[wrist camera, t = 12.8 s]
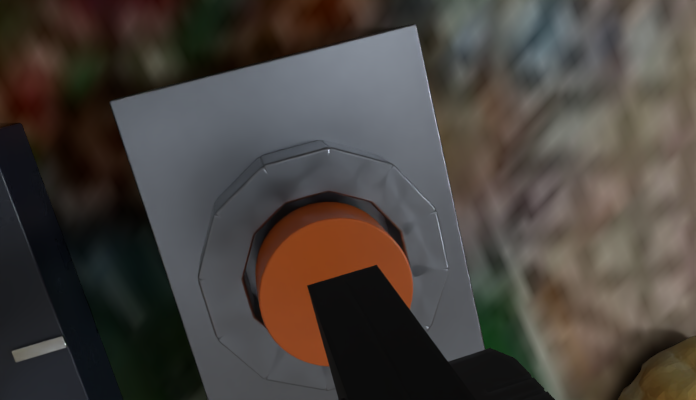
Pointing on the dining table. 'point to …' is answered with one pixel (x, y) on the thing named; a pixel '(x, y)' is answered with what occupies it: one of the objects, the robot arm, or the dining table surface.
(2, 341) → the panel
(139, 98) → the block
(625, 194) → the dining table surface
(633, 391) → the pastry
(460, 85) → the dining table surface
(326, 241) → the button
